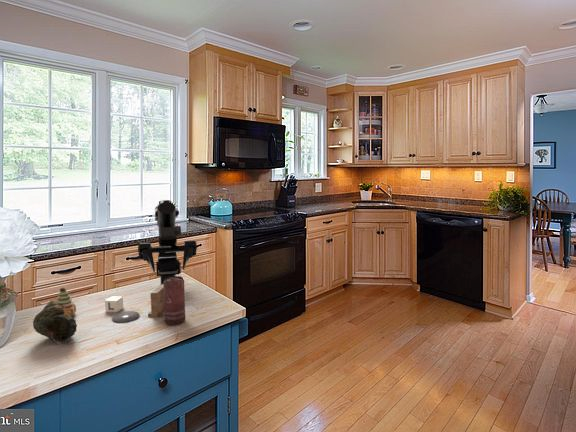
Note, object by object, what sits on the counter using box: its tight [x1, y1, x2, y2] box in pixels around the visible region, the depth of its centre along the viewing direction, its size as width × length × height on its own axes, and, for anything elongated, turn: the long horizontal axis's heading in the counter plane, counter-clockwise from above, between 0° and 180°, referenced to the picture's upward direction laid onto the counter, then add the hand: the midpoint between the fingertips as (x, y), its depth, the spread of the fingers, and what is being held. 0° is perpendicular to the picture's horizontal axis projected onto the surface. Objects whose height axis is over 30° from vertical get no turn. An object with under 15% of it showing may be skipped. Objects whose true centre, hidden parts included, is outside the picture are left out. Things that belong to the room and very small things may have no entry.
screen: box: [147, 284, 164, 318], centre depth 123 cm, size 9×4×8 cm, turn 176°
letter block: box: [104, 295, 124, 313], centre depth 124 cm, size 4×4×4 cm
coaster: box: [111, 310, 140, 324], centre depth 118 cm, size 8×8×1 cm
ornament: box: [50, 287, 77, 319], centre depth 117 cm, size 8×6×10 cm
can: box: [163, 275, 186, 326], centre depth 114 cm, size 6×6×14 cm
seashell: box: [32, 299, 78, 345], centre depth 101 cm, size 11×11×10 cm
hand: (169, 270), depth 120 cm, fingers open, 9 cm apart
